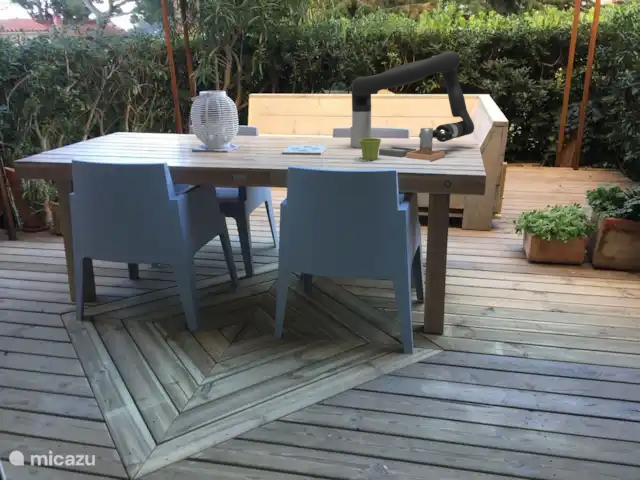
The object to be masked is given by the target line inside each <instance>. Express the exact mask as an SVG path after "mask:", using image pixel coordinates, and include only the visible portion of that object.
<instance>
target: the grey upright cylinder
mask: <svg viewBox="0 0 640 480" xmlns="http://www.w3.org/2000/svg"><path fill="white" fill-rule="evenodd" d="M433 130H434V128H432V127H421V128H420V131H419V132H420V133H419V134H420V137H419V149H420V154H425V155H432V150H433V139H434V138H433Z"/></svg>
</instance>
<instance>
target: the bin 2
mask: <svg viewBox="0 0 640 480" xmlns="http://www.w3.org/2000/svg"><path fill="white" fill-rule="evenodd" d="M445 152H446V151H443V150H433V149H432V155H425V154H420V148H419V149H416V150H415V151H412V152H408V153H406V156H405V158H407V159H416V160H424V161H430V162H431V163H432V162H435V161H438V160H441V159H443V158H445V155H446V153H445Z"/></svg>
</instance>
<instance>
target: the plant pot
mask: <svg viewBox="0 0 640 480" xmlns="http://www.w3.org/2000/svg"><path fill="white" fill-rule="evenodd" d="M359 141H360V144H361V148H360V149H361V154H362V160H363V161H367V162H372V161H374V160H377V159H378V157H379V149H380V144H381V142H382V139H381V138H378V137H376V138H375V137H371V138H364V139H360V140H359Z"/></svg>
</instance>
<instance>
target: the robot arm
mask: <svg viewBox="0 0 640 480" xmlns="http://www.w3.org/2000/svg"><path fill="white" fill-rule="evenodd" d="M460 62H461V57H460V54H459V53H458V52H456V51H454V50H447V51H444V52H442V53H440V54H437V55H435V56H432V57H429V58H425V59H420V60H416V61H412V62H407V63H404V64H400V65H396V66H395V67H394V66H393V67H392V68H389V69H387V70H386V71H383V72H380V73H377V74H374V75H368V76H357V77H356V78H355V79H354V80H353V81H352V84H351V110H352V112H351V117H352V119H351V120H352V121H351V125H352V126H351V127H350V147H353V148H359V149H362V148H361V144H360V141H359V140H360V139H364V138H372V94H374V93H376V92H380V91H381V90H385V89H393V88H397V87H402V86H407V85H409V84H413V83H416V82H418V81H420V80H422V79H424V78H427V77H428V76H430V75H433V74H437V73H441V75H442V78H443V81H444V83H445V87H446V91H447V96H448V102H449V107H450V111H451V115H452V117H453V118H461V119H462V120H461V121H457V122H451V123H444V124H440V125H438V126H437V127H436V128H435V129H433V139H436V140H437V142H438V141H439V142H441V143H445V142H448V141H451V140H453V139H458V138H462V137H465V136H469V135H472V134H473V133H474V131H475V125H474V121H473V120H472V118H471V116H470V114H469V111H468V110H467V104H466V99H465V96H464V93H463V90H462V87H461V85H460V82H459V76H458V67H459V65H460V64H461V63H460ZM418 136H419V138H420V133H419V135H418Z"/></svg>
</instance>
